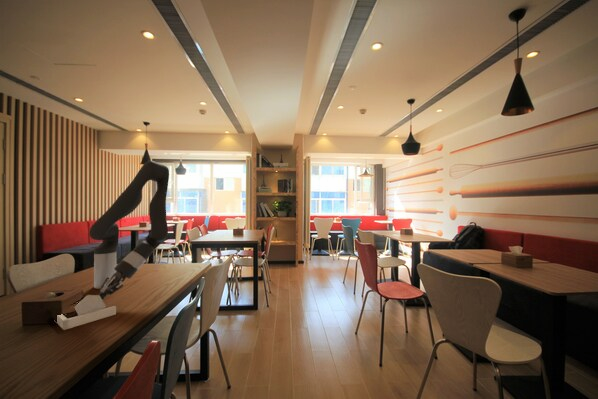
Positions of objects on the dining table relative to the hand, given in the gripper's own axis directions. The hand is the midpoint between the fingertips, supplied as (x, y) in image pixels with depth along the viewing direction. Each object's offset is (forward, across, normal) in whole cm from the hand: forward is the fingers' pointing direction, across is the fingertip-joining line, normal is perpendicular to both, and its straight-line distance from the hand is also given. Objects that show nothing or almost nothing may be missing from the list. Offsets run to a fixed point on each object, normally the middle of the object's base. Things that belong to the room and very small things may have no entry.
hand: (95, 302), depth 100 cm
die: (+4, +4, +1) cm, 6 cm away
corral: (+5, 0, +1) cm, 5 cm away
